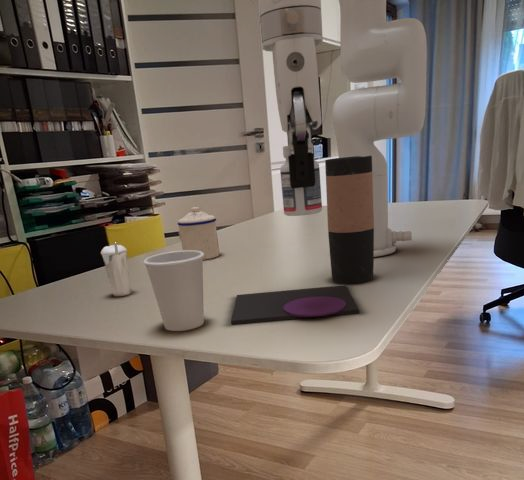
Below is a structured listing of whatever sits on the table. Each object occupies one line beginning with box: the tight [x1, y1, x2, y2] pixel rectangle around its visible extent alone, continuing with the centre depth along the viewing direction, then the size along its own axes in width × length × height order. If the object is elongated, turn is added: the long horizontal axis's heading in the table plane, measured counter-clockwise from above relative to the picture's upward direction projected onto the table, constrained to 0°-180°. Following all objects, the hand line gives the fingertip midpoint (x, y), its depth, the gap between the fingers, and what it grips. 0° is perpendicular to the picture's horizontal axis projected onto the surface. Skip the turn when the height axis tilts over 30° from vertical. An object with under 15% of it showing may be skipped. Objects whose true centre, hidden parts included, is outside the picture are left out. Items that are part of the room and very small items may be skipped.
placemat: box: [230, 284, 360, 325], centre depth 79 cm, size 18×16×1 cm
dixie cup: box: [143, 250, 205, 332], centre depth 74 cm, size 8×8×10 cm
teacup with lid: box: [177, 206, 220, 261], centre depth 124 cm, size 12×9×12 cm
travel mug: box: [324, 156, 375, 285], centre depth 88 cm, size 8×8×20 cm
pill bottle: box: [279, 142, 323, 217], centre depth 70 cm, size 5×5×9 cm
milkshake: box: [100, 241, 132, 297], centre depth 95 cm, size 4×5×10 cm
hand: (301, 184), depth 71 cm, fingers closed on pill bottle, 5 cm apart
